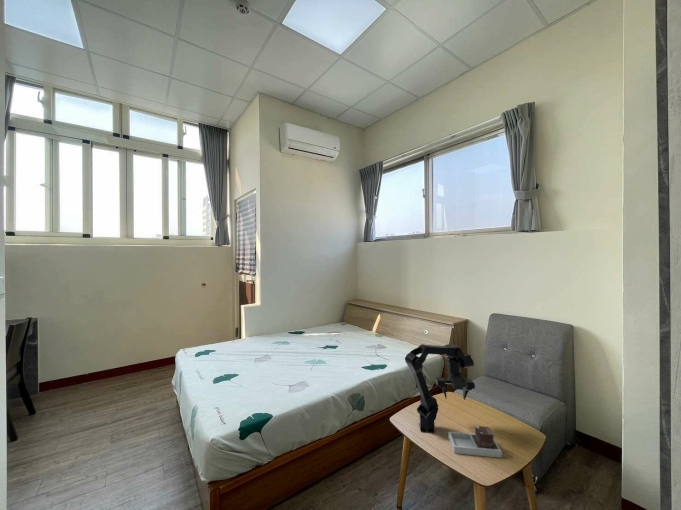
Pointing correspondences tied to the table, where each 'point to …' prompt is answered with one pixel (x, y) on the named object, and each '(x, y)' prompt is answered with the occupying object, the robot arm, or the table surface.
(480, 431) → the box
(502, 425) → the table surface
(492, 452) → the tray
